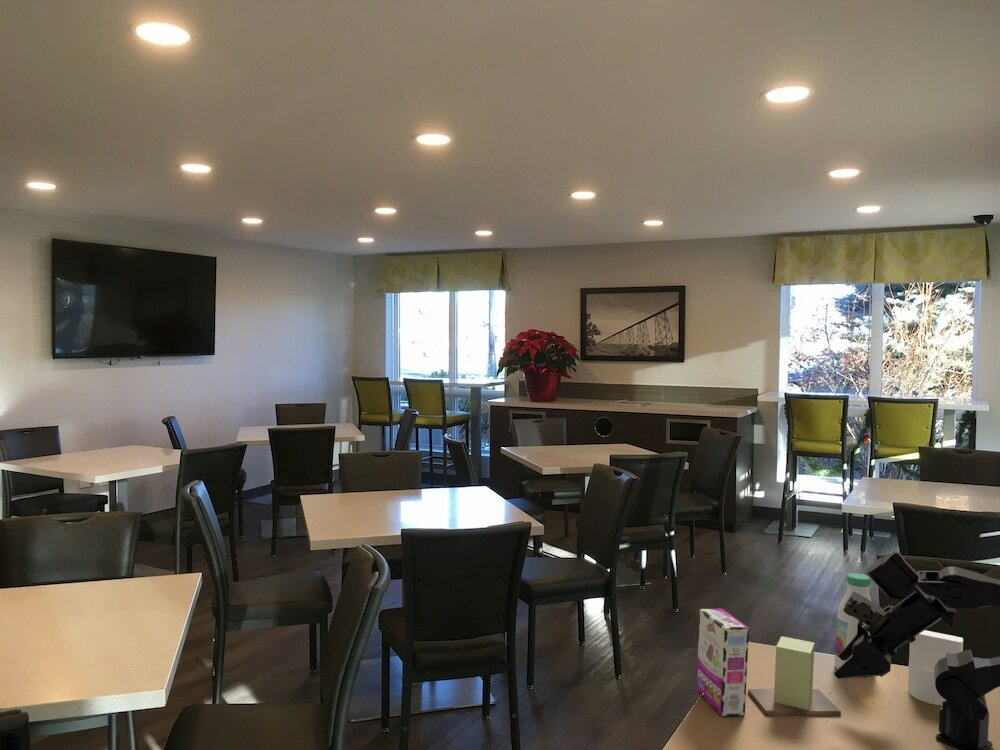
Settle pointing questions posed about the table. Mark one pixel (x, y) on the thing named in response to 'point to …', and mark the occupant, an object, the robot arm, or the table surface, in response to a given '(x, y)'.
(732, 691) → the candy bar box
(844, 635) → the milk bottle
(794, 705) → the pale green upright block
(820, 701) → the walnut stud board
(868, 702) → the table surface
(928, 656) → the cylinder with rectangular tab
